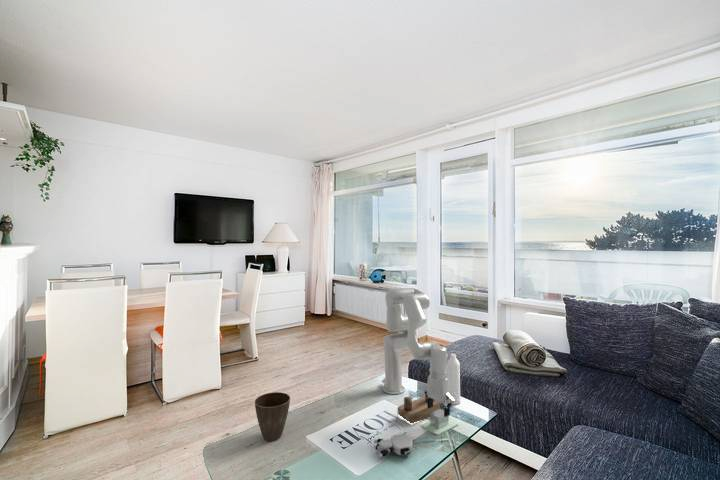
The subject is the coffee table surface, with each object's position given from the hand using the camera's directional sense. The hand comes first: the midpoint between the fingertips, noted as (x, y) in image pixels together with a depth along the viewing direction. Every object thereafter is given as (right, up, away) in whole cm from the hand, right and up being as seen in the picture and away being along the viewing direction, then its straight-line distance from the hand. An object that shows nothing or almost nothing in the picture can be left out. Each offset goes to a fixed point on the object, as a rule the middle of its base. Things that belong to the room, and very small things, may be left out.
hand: (438, 411), depth 156 cm
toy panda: (-22, -6, -20) cm, 31 cm away
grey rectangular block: (0, -6, -1) cm, 6 cm away
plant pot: (-74, -7, -8) cm, 75 cm away
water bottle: (+12, -7, +23) cm, 27 cm away
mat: (0, -6, -1) cm, 6 cm away
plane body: (-7, -7, +9) cm, 13 cm away
